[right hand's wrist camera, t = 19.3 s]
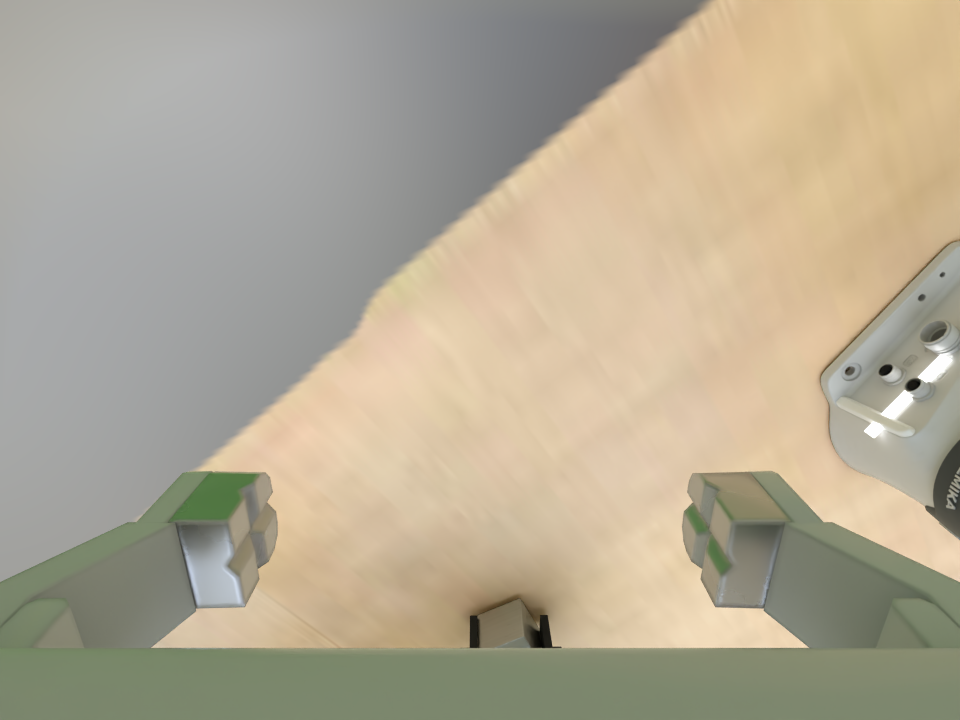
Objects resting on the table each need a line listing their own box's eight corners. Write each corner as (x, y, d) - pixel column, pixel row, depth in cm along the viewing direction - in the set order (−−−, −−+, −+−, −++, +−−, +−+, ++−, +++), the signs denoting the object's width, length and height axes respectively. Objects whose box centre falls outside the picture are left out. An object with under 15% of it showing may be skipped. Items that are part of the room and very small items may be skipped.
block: (477, 615, 57) (477, 654, 53) (520, 597, 57) (524, 636, 52) (497, 644, 59) (499, 685, 54) (539, 628, 58) (544, 668, 54)
